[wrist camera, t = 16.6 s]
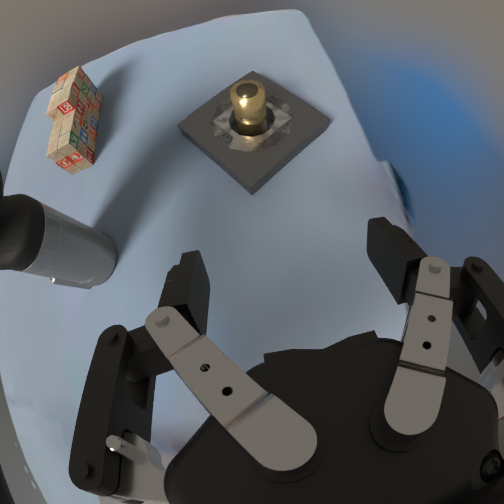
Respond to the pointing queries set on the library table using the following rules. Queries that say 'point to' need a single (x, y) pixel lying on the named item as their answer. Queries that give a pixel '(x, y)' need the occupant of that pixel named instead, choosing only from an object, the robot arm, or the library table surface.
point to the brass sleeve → (249, 107)
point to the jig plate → (258, 147)
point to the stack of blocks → (74, 121)
